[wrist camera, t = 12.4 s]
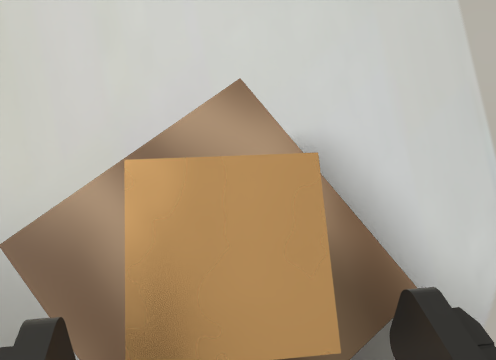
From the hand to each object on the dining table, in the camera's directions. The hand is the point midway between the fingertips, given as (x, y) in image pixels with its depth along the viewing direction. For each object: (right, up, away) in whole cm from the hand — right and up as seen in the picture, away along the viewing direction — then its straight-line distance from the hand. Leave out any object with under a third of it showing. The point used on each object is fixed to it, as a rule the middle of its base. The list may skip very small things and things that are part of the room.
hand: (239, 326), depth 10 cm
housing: (-1, -1, +10) cm, 10 cm away
